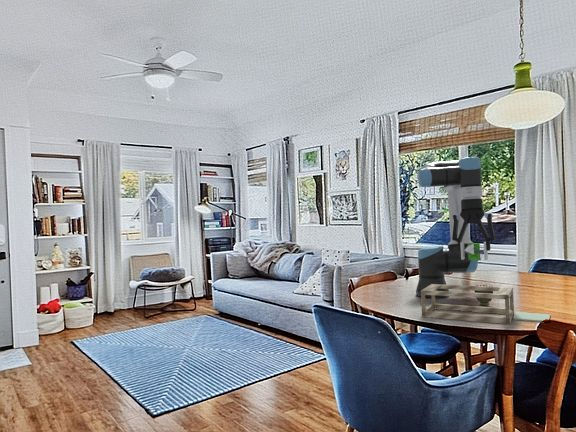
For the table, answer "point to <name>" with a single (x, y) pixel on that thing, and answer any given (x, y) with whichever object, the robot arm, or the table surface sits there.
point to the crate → (501, 294)
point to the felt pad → (530, 316)
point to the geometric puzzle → (473, 251)
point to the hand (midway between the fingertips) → (474, 259)
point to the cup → (484, 300)
